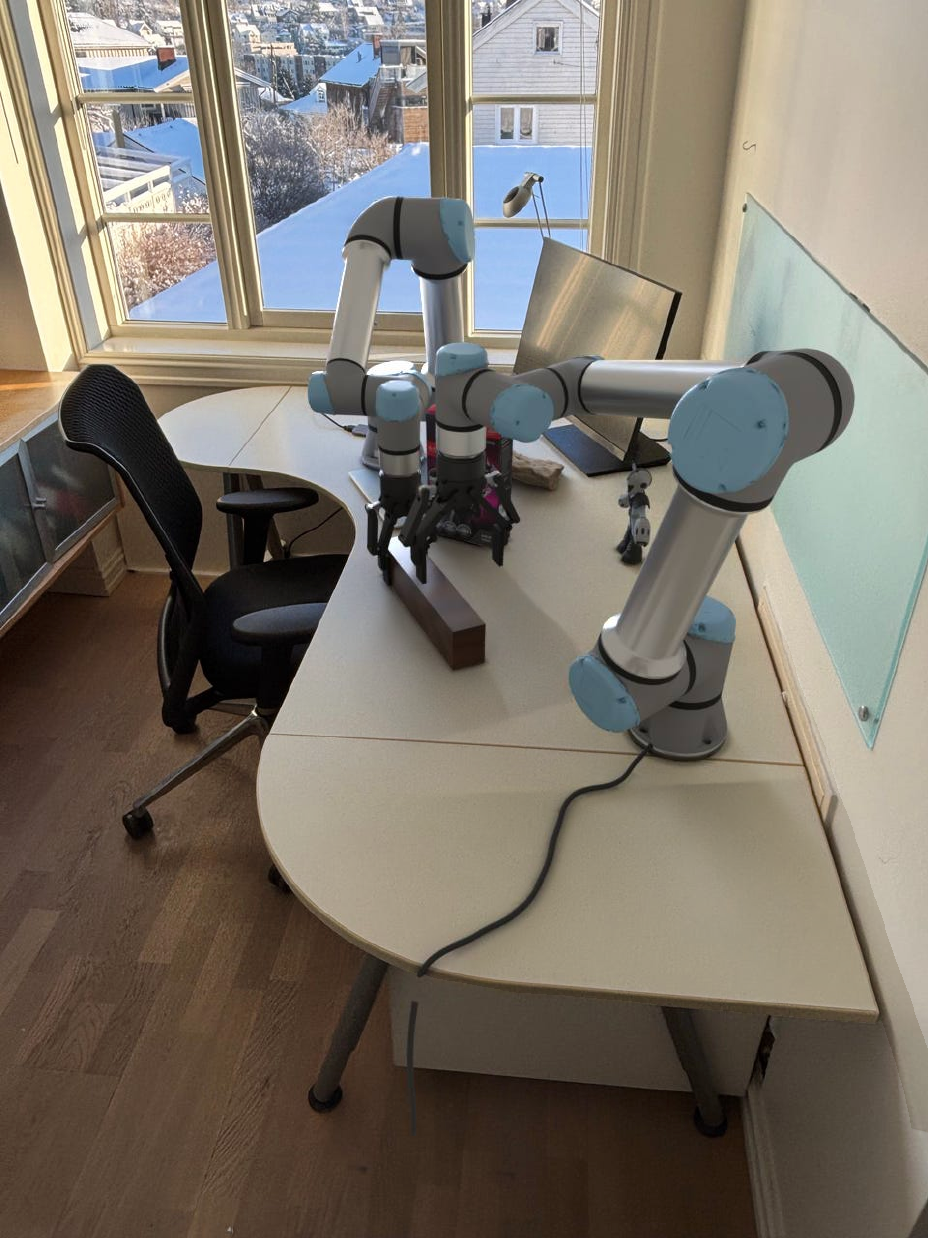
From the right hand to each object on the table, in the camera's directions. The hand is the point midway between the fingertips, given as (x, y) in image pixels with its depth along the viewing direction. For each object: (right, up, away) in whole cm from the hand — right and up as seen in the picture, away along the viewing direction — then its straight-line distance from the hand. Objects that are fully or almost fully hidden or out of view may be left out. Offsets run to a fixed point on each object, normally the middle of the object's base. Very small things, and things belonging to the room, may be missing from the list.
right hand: (460, 571), depth 150 cm
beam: (-6, -7, +19) cm, 21 cm away
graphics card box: (+2, +10, +44) cm, 46 cm away
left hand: (-11, 0, +29) cm, 31 cm away
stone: (+13, +26, +69) cm, 75 cm away
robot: (+35, +5, +38) cm, 52 cm away
